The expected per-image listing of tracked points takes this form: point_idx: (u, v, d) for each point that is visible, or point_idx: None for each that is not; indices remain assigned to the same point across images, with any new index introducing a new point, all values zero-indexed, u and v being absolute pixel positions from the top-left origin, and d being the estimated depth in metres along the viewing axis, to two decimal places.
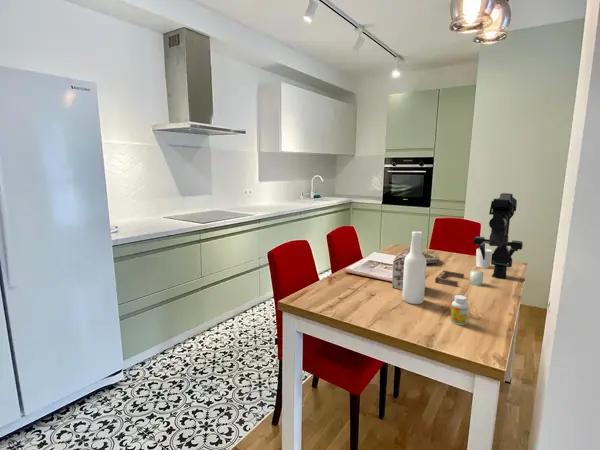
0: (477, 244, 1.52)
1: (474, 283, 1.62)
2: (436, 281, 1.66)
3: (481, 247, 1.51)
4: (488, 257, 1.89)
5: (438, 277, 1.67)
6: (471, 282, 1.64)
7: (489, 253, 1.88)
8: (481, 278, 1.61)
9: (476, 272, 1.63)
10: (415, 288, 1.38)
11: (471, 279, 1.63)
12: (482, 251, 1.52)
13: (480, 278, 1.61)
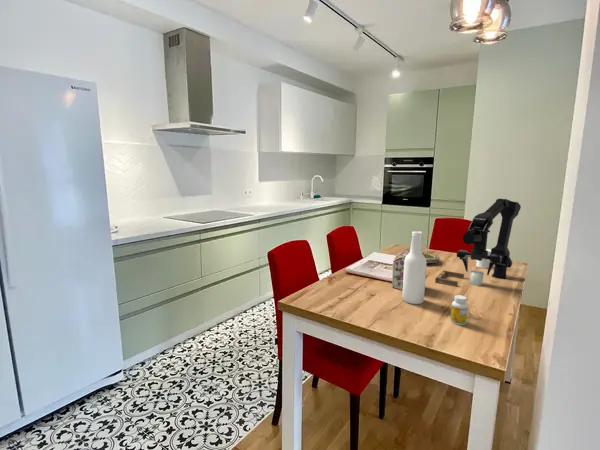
0: None
1: (474, 283, 1.62)
2: (436, 281, 1.66)
3: (464, 260, 1.64)
4: None
5: (438, 277, 1.67)
6: (471, 282, 1.64)
7: (489, 253, 1.88)
8: (481, 278, 1.61)
9: (476, 272, 1.63)
10: (415, 288, 1.38)
11: (471, 279, 1.63)
12: (465, 264, 1.65)
13: (480, 278, 1.61)
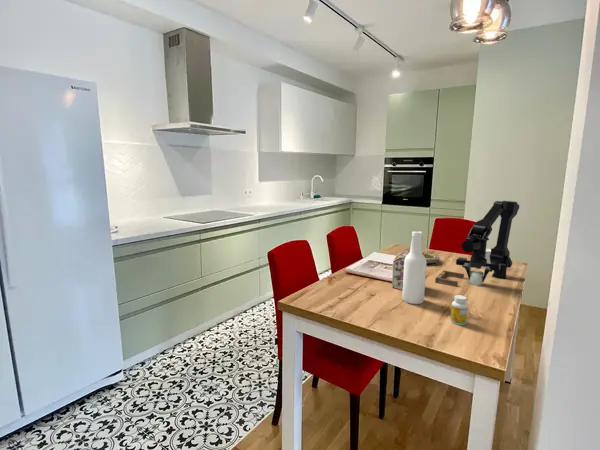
0: (463, 265, 1.65)
1: (474, 283, 1.62)
2: (436, 281, 1.66)
3: (467, 268, 1.64)
4: (488, 257, 1.89)
5: (438, 277, 1.67)
6: (471, 282, 1.64)
7: (489, 253, 1.88)
8: (481, 278, 1.61)
9: (476, 272, 1.63)
10: (415, 288, 1.38)
11: (471, 279, 1.63)
12: (468, 272, 1.65)
13: (480, 278, 1.61)
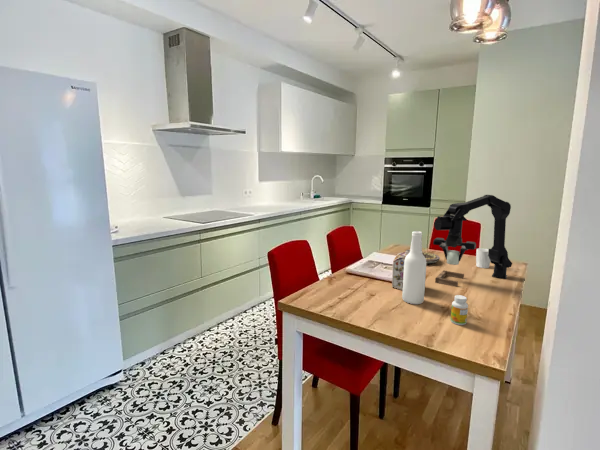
0: (440, 245, 1.68)
1: (450, 262, 1.65)
2: (436, 281, 1.66)
3: (443, 248, 1.67)
4: (488, 257, 1.89)
5: (438, 277, 1.67)
6: (448, 261, 1.67)
7: None
8: (457, 257, 1.65)
9: (452, 251, 1.66)
10: (415, 288, 1.38)
11: (448, 258, 1.67)
12: (445, 251, 1.68)
13: (456, 257, 1.64)
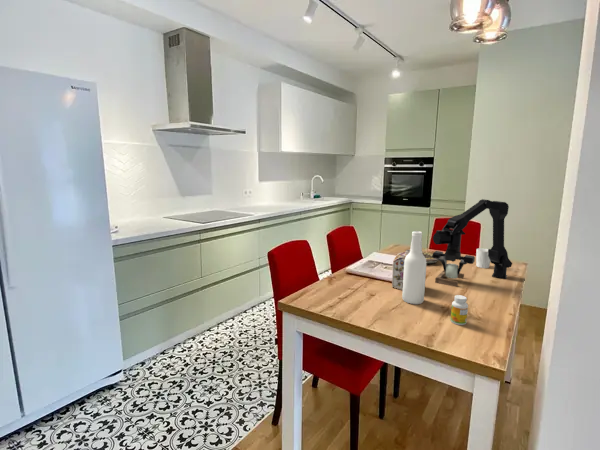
0: (439, 258, 1.69)
1: (449, 276, 1.67)
2: (436, 281, 1.66)
3: (442, 261, 1.68)
4: (488, 257, 1.89)
5: (438, 277, 1.67)
6: (447, 275, 1.68)
7: None
8: (456, 271, 1.66)
9: (451, 265, 1.67)
10: (415, 288, 1.38)
11: (447, 272, 1.68)
12: (443, 265, 1.69)
13: (455, 271, 1.66)
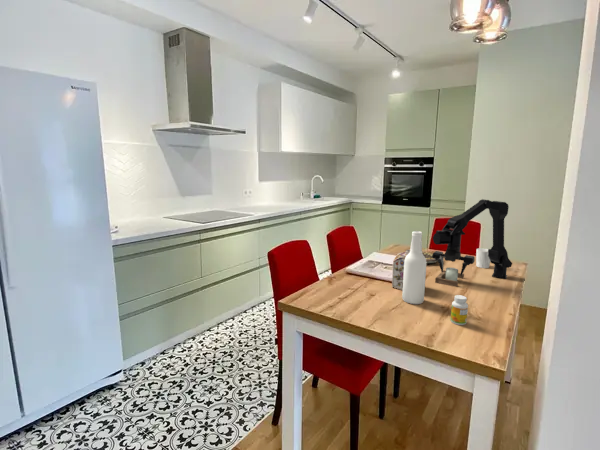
0: None
1: None
2: (436, 281, 1.66)
3: (439, 261, 1.69)
4: (488, 257, 1.89)
5: (438, 277, 1.67)
6: None
7: None
8: (456, 275, 1.66)
9: (451, 269, 1.68)
10: (415, 288, 1.38)
11: (446, 276, 1.68)
12: (440, 264, 1.70)
13: (454, 275, 1.66)
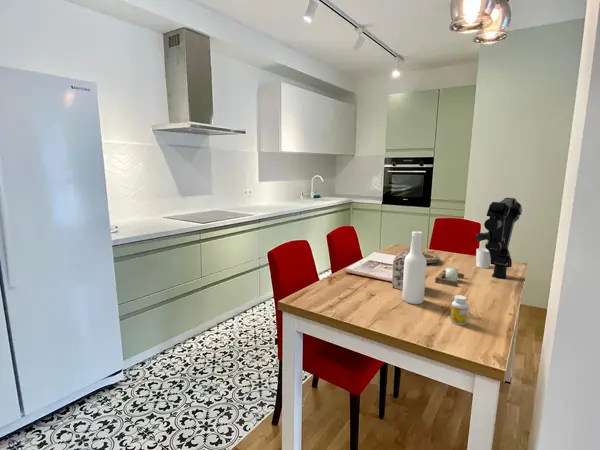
0: None
1: None
2: (436, 281, 1.66)
3: None
4: (488, 257, 1.89)
5: (438, 277, 1.67)
6: None
7: (489, 253, 1.88)
8: (456, 275, 1.66)
9: (451, 269, 1.68)
10: (415, 288, 1.38)
11: (446, 276, 1.68)
12: None
13: (454, 275, 1.66)
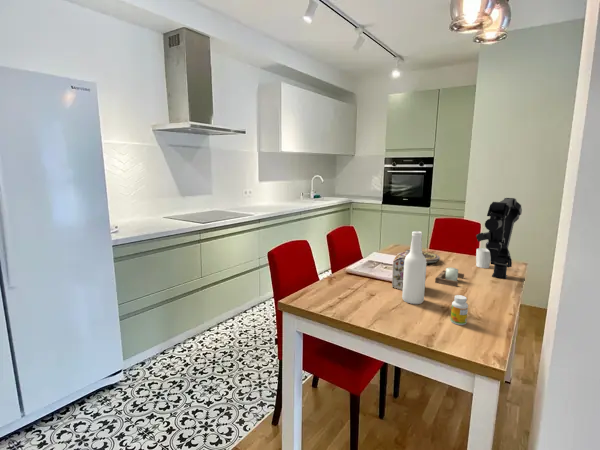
0: None
1: None
2: (436, 281, 1.66)
3: None
4: (488, 257, 1.89)
5: (438, 277, 1.67)
6: None
7: (489, 253, 1.88)
8: (456, 275, 1.66)
9: (451, 269, 1.68)
10: (415, 288, 1.38)
11: (446, 276, 1.68)
12: None
13: (454, 275, 1.66)
